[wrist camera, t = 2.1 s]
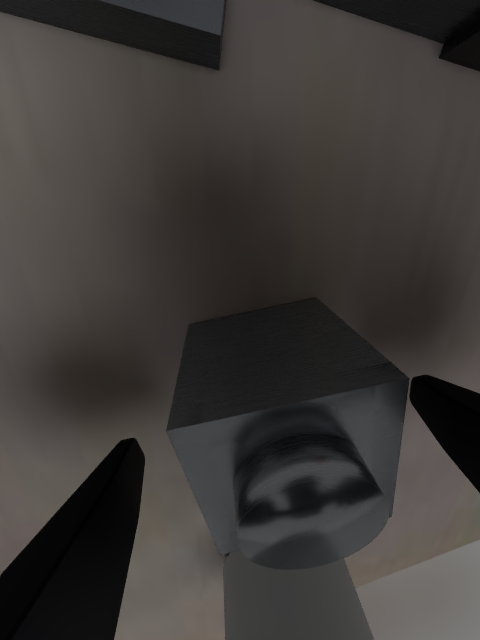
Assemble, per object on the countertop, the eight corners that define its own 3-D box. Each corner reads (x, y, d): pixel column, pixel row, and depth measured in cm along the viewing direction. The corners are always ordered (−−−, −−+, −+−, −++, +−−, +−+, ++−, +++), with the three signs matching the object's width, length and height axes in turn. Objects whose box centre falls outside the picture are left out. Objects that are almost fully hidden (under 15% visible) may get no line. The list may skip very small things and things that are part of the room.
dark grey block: (217, 419, 12) (221, 606, 6) (188, 324, 10) (155, 480, 4) (322, 396, 12) (417, 561, 6) (316, 297, 10) (452, 415, 4)
